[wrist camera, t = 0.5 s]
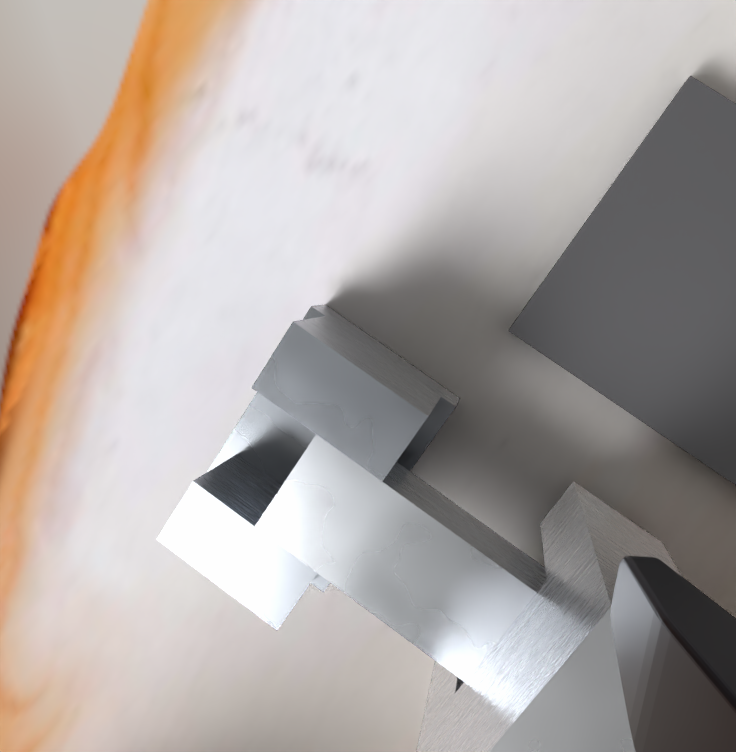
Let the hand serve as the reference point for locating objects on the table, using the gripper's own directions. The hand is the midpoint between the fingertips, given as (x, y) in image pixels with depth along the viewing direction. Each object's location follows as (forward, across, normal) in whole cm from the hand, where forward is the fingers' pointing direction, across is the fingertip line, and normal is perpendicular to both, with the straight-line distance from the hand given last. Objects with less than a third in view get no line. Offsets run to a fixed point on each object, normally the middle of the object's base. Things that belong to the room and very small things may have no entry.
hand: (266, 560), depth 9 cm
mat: (+12, -11, 0) cm, 16 cm away
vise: (+11, -4, +7) cm, 13 cm away
